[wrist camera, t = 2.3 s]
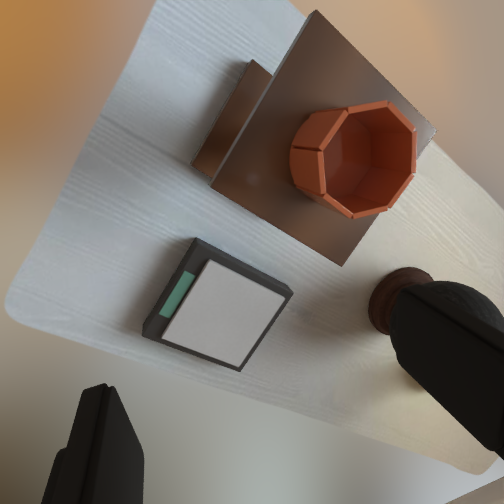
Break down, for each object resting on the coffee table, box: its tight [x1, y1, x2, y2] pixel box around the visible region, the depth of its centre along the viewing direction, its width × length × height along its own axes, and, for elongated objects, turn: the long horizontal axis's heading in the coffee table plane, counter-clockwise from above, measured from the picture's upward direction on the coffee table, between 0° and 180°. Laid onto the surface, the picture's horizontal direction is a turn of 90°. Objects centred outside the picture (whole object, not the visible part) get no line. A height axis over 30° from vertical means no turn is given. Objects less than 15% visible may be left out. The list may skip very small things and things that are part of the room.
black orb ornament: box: [368, 267, 504, 352], centre depth 43 cm, size 13×13×15 cm
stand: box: [190, 10, 437, 267], centre depth 30 cm, size 12×12×16 cm
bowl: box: [289, 100, 417, 219], centre depth 20 cm, size 6×6×4 cm
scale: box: [142, 238, 294, 372], centre depth 41 cm, size 14×13×3 cm
